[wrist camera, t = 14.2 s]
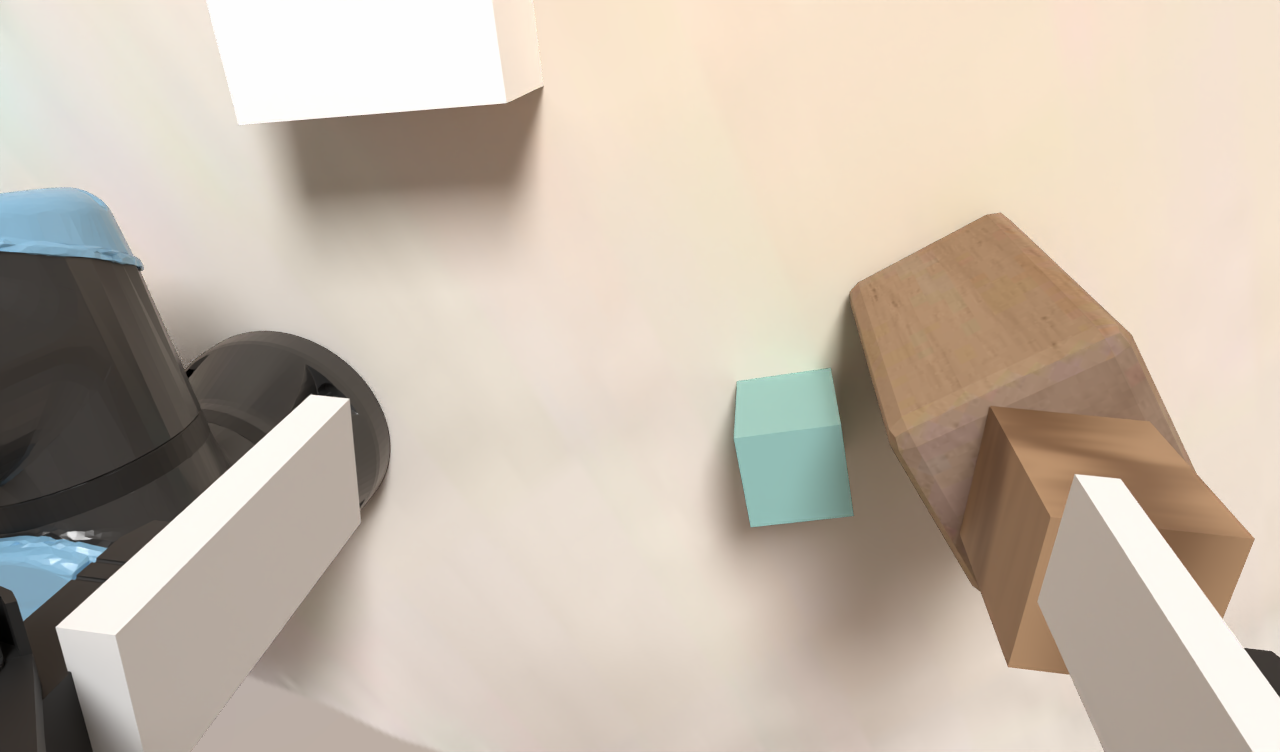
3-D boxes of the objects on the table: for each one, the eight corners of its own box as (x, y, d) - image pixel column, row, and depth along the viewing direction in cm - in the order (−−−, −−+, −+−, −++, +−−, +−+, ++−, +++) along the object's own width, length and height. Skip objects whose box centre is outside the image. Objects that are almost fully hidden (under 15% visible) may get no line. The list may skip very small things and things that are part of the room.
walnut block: (959, 533, 37) (1008, 666, 30) (989, 405, 35) (1050, 517, 27) (1107, 550, 37) (1194, 689, 29) (1149, 421, 34) (1254, 539, 27)
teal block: (751, 461, 60) (750, 527, 52) (737, 380, 57) (733, 438, 50) (842, 450, 58) (853, 515, 51) (830, 367, 56) (840, 424, 49)
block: (1068, 342, 54) (1225, 525, 35) (914, 414, 57) (987, 616, 39) (999, 201, 51) (1131, 322, 33) (841, 285, 54) (882, 438, 36)
